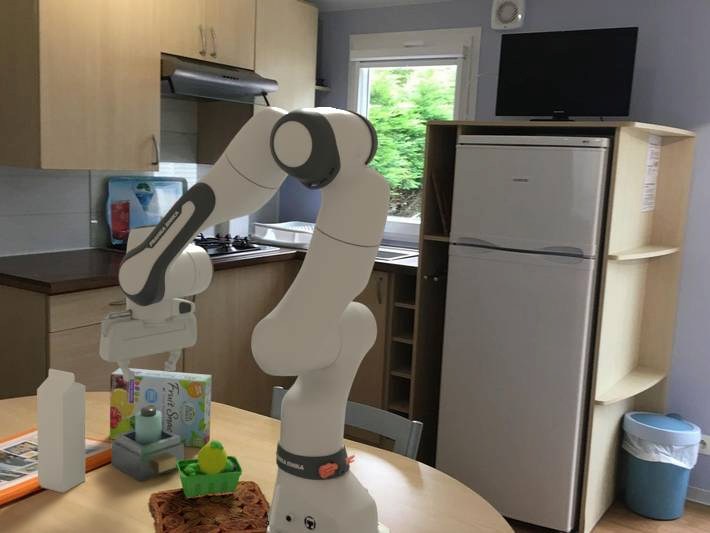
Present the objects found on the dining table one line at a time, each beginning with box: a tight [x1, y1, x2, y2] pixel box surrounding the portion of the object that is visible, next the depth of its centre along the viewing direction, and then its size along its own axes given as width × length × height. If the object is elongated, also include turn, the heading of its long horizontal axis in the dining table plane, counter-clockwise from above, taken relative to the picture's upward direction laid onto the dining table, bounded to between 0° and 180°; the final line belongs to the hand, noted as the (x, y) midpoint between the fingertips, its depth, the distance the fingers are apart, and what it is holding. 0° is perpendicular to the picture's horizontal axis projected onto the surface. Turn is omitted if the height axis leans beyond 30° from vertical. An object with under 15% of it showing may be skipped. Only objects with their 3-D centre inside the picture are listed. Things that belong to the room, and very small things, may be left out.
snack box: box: [109, 367, 213, 449], centre depth 162 cm, size 21×6×15 cm, turn 84°
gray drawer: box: [111, 428, 185, 483], centre depth 148 cm, size 12×10×6 cm
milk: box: [36, 368, 86, 494], centre depth 138 cm, size 6×6×22 cm
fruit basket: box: [176, 440, 243, 498], centre depth 139 cm, size 11×9×11 cm
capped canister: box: [135, 407, 162, 446], centre depth 148 cm, size 5×5×7 cm
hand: (150, 375), depth 146 cm, fingers open, 8 cm apart
